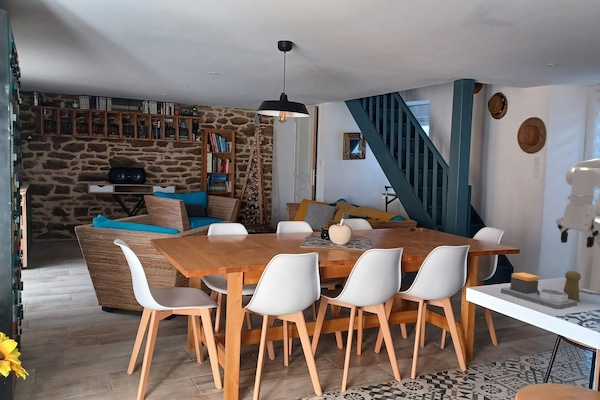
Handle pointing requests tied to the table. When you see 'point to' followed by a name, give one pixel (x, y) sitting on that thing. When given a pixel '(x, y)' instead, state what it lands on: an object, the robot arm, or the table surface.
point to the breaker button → (525, 276)
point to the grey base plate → (532, 293)
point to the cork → (572, 285)
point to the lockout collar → (552, 295)
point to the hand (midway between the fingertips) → (576, 244)
